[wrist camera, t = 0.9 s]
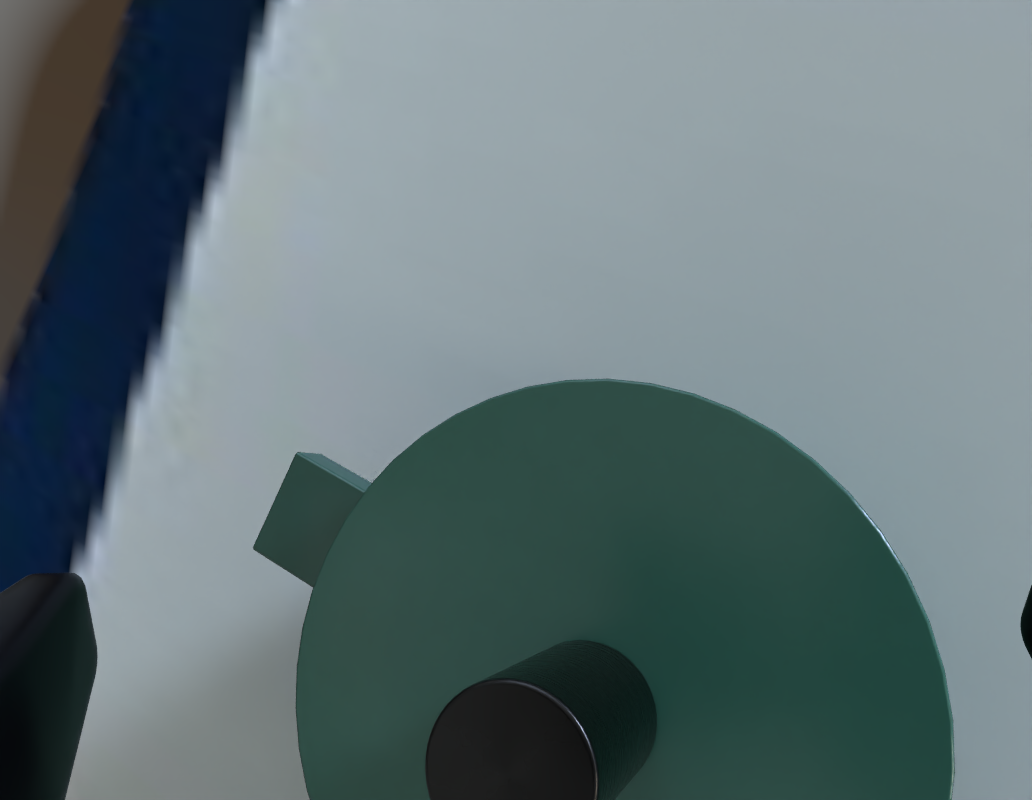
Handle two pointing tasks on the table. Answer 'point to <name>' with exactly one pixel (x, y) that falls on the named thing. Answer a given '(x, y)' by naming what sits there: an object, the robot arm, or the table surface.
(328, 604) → the lid
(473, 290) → the table surface
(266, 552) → the pot
